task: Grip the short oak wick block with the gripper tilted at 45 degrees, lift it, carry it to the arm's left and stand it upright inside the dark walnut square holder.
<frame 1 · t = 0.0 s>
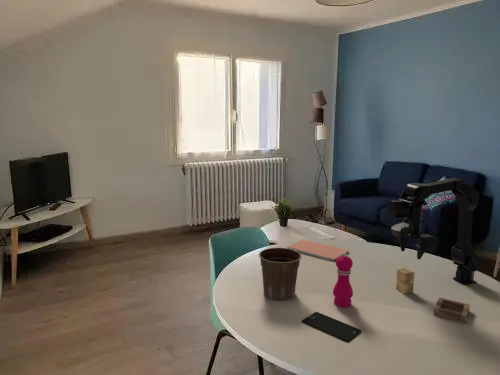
hand: (410, 255, 157), 15 cm above the table, tool pointing down, fingers open, 9 cm apart
cell phone: (330, 328, 133), on the table
walnut holder: (451, 312, 141), on the table
notebook: (317, 252, 204), on the table
plant pot: (279, 294, 157), on the table
pepper mill: (342, 304, 149), on the table
oak wick block: (404, 290, 159), on the table
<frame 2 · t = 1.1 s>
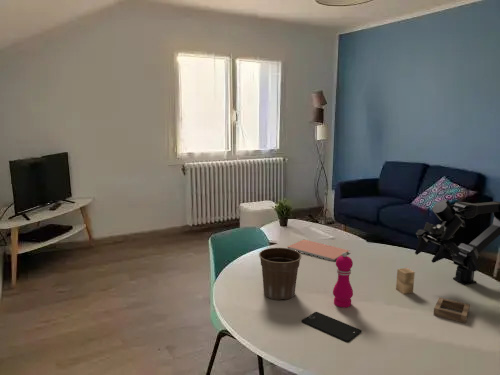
hand: (423, 257, 159), 13 cm above the table, tool tilted 45°, fingers open, 9 cm apart
nothing on the table moved.
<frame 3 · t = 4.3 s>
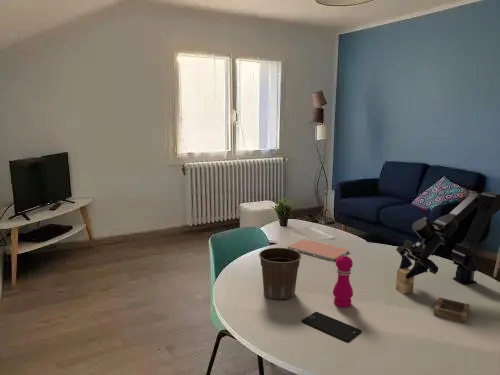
hand: (402, 275, 157), 7 cm above the table, tool tilted 45°, fingers closed on oak wick block, 4 cm apart
oak wick block: (404, 290, 159), on the table, touching gripper
everything else where it was.
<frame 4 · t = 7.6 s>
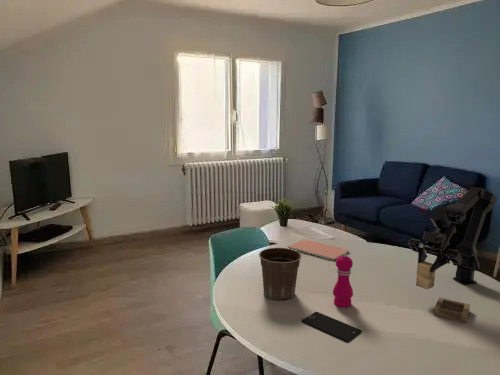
hand: (424, 270, 146), 13 cm above the table, tool tilted 45°, fingers closed on oak wick block, 4 cm apart
oak wick block: (424, 285, 148), point 6 cm above the table, touching gripper
everything else where it was.
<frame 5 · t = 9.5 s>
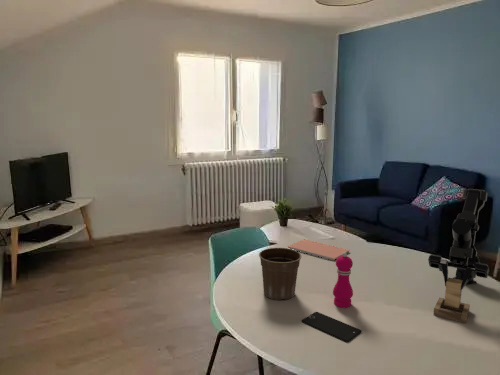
hand: (453, 287, 139), 10 cm above the table, tool tilted 45°, fingers closed on oak wick block, 4 cm apart
oak wick block: (452, 303, 141), point 3 cm above the table, touching gripper
everything else where it was.
when the fingers open (8 cm above the table, at t = 10.9 s): oak wick block drops 2 cm, resting in walnut holder.
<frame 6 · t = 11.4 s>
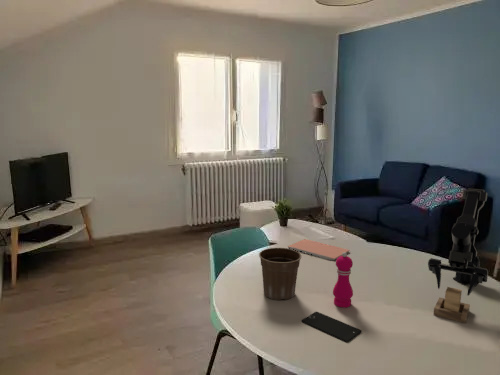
hand: (453, 291, 139), 9 cm above the table, tool tilted 45°, fingers open, 9 cm apart
oak wick block: (451, 313, 141), resting in walnut holder
everything else where it was.
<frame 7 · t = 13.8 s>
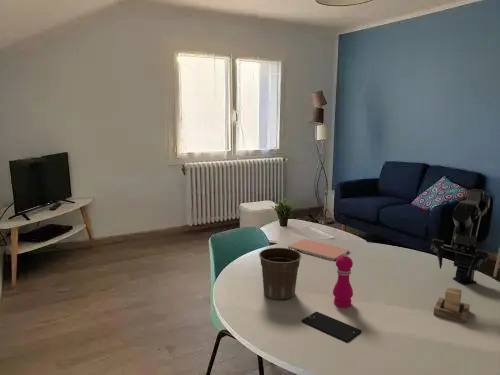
hand: (454, 272, 145), 13 cm above the table, tool tilted 40°, fingers open, 9 cm apart
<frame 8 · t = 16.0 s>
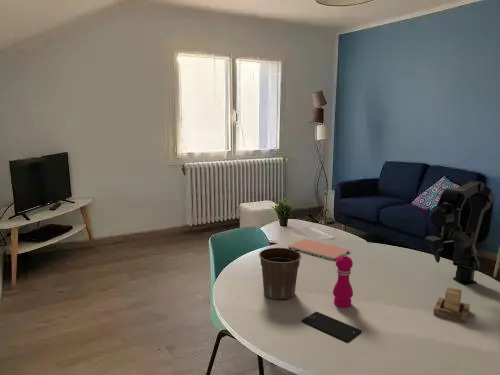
hand: (447, 261, 155), 13 cm above the table, tool pointing down, fingers open, 9 cm apart
at the end: oak wick block 0.0 cm off-centre on the walnut holder, point 0.0 cm above the walnut holder's base; oak wick block tilted 0°; the gripper is holding nothing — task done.
